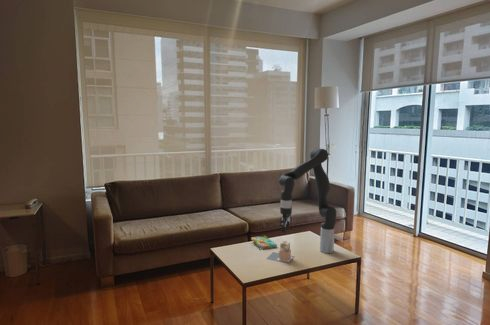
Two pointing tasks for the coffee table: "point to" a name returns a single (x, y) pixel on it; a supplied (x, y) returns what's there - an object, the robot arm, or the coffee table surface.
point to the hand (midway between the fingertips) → (285, 230)
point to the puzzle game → (263, 242)
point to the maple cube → (285, 246)
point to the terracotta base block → (285, 255)
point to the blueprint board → (275, 257)
